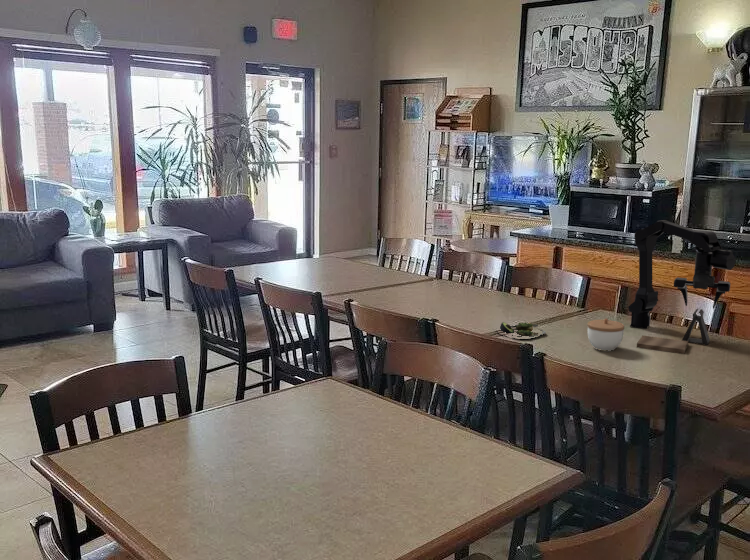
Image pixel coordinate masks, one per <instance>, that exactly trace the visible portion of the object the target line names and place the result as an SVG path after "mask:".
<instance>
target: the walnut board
mask: <svg viewBox="0 0 750 560" xmlns="http://www.w3.org/2000/svg"><path fill="white" fill-rule="evenodd" d="M688 346H689V342H688V341H682V339H673V338H665V337H657V336H650V335H641V337H640V338H639V339H638V341H637V343H636V348H638V347H640V348H641V349H646V350H654V351H662V352H669V353H677V354H683V355H684V354H685V353H686V351H687V348H688ZM640 348H639V349H640Z"/></svg>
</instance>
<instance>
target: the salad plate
mask: <svg viewBox="0 0 750 560" xmlns="http://www.w3.org/2000/svg"><path fill="white" fill-rule="evenodd" d="M510 325H511V324H508V323H506V322H504V321H502V322H501V324H500V329H501V331H503V332H506V333H514V329H512V328H511V327H516V329H515V330H518V331H517V332H516V333H517V334H519V335H521V336H517V337H522V336H529V337H534V336H535V333H532V332H531V331H532V330H533V328H534V329H538V330H540V331H542V334H544V335H545V334H546V330H544V329H541V328H537V327H539V324H532V322H529V323H527V322H518V325H515V324H514V325H515V326H510ZM542 334H540V335H542ZM512 336H513V335H512ZM536 336H538V334H537V335H536ZM542 336H543V335H542Z"/></svg>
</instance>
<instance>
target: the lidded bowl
mask: <svg viewBox="0 0 750 560" xmlns="http://www.w3.org/2000/svg"><path fill="white" fill-rule="evenodd" d="M624 329H625V325H624V324H623V323H622V322H619V321H615V320H610V319H608V318H604V319H593V320H590V321H588V322H587V337H588V342H589V343H590V344H591V346H593V348H594V347H595V348H597V349H601V350H608V351H607V352H612V351H611V350H613V351H615V350H614V349H616V348H617V347H619V346H620V344H621V342H622V340H623V338H624ZM595 348H594V349H595ZM597 349H596V350H597ZM609 350H610V351H609Z"/></svg>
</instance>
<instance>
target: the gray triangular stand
mask: <svg viewBox="0 0 750 560" xmlns="http://www.w3.org/2000/svg"><path fill="white" fill-rule="evenodd" d="M697 312H698V314H700V315H697ZM704 313H705V311H704V310H703V309H702V308H700V309H699V308H697V309H695V310H694V312H693V314H692V320H691V322H690V324H689V326H688V327H687V329H686V331H685V333H684V335H683V338H682V339H681V340H682V341H688V344H696V343H698V344H697V345H703V344H705V346H708V345H709V343H710V342H711V339H710V335H709V332H708V329H707V328H708V327H707V326H706V322H705V319H704ZM696 322H698V326H699V330H700V331H699V332H700V336H701V337H700V338H696V337H691V335H692V334H691V333H692V331H693V329H694V326H695V324H696Z"/></svg>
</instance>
